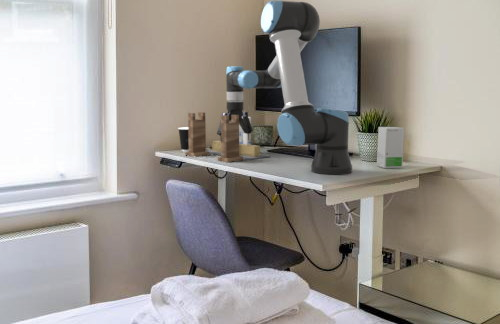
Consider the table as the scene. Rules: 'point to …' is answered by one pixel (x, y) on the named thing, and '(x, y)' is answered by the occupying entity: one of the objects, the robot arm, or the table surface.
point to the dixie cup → (184, 139)
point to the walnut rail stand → (227, 137)
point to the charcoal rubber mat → (240, 155)
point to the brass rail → (240, 149)
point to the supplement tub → (242, 134)
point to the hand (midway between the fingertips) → (235, 149)
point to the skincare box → (390, 147)
